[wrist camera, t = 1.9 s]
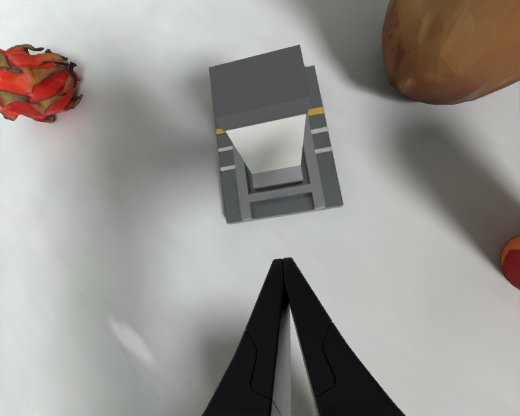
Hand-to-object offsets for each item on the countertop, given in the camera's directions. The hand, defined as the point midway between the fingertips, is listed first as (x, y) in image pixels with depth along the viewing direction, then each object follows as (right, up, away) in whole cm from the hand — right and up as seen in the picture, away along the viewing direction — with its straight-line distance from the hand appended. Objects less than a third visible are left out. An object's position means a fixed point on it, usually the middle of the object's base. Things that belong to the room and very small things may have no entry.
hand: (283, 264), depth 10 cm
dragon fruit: (-29, +18, +21) cm, 40 cm away
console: (0, +9, +15) cm, 18 cm away
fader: (0, +8, +13) cm, 15 cm away
